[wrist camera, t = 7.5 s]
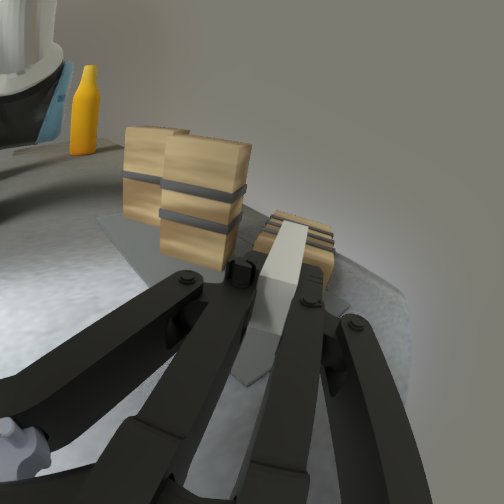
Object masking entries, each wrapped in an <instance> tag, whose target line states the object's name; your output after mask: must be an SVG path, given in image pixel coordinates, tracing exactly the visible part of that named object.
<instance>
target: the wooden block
mask: <svg viewBox="0 0 504 504" xmlns="http://www.w3.org/2000/svg"><path fill="white" fill-rule="evenodd" d="M251 148H252V144H247V143H242V142H236V141H230V140H224V139H217V138H211V137H204V136H196V135H188V134H185V135H176V136H168V137H166V147H165V157H164V169H163V178H162V179H161V180H160V188H162V199H161V208H159V217H160V218H161V221H160V253H162V254H165V255H168V256H171V257H174V258H178V259H181V260H184V261H187V262H190V263H194V264H197V265H200V266H204V267H207V268H210V269H213V270H217V271H220V272H221V271H222V270H223V269H224V267H225V266H226V263H227V261H228V260H229V259H231V258H232V257H233V255H234V251H235V245H236V239H237V232H238V226H239V222H240V221H241V219H242V213H243V212H241V208H242V201H243V195H244V194H245V193H246V189H247V184H245V183H246V177H247V172H248V165H249V160H250V154H251Z"/></svg>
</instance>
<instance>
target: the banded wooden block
mask: <svg viewBox="0 0 504 504" xmlns="http://www.w3.org/2000/svg"><path fill="white" fill-rule="evenodd" d="M189 132H190V130H185V129H175V128H165V127H153V126H138V127H128V128H126V136H125V150H124V170H122V177H123V217H125V218H128V219H132V220H136V221H139V222H143V223H146V224H150V225H154V226H157V227H160V221H161V218H160V217H159V208H161V199H162V188H160V180H161V179H162V178H163V169H164V157H165V147H166V137H168V136H176V135H185V134H188V135H189Z"/></svg>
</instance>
